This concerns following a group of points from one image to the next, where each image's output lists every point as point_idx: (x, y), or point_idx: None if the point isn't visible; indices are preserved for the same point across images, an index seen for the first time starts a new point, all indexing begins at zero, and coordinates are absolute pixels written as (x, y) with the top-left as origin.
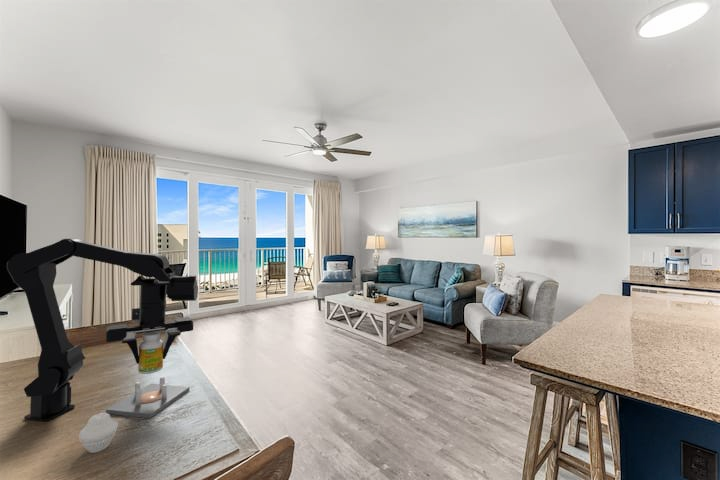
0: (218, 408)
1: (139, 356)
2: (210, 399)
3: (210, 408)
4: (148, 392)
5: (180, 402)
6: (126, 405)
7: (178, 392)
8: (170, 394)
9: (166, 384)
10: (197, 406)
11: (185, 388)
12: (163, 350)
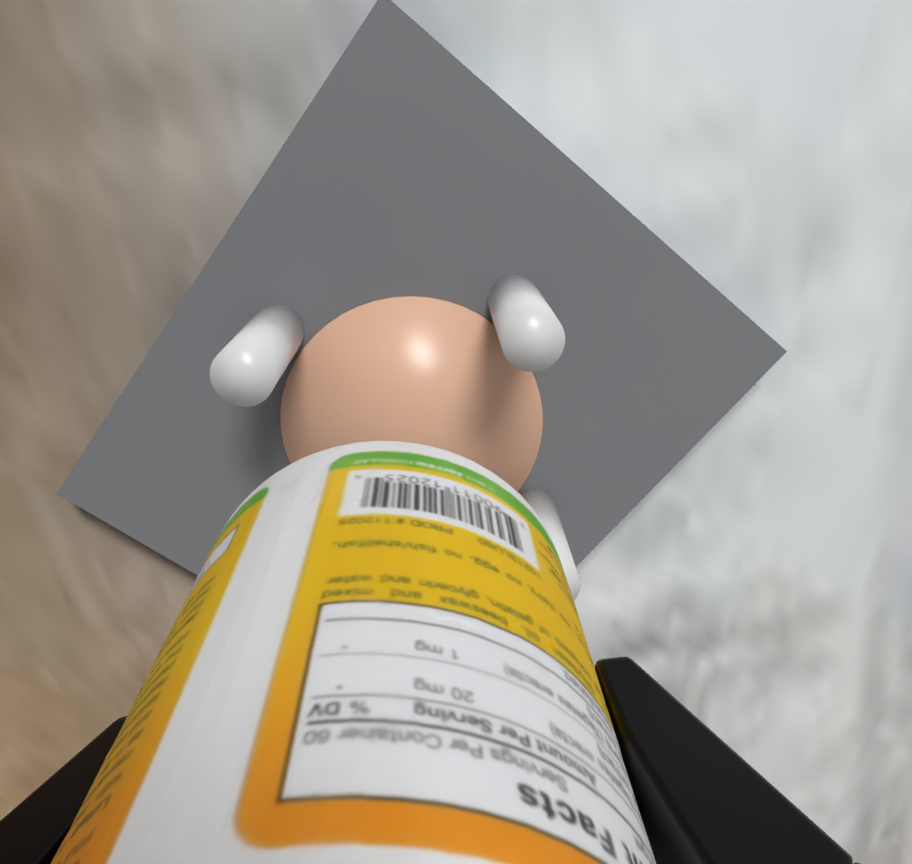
0: (877, 747)
1: None
2: (877, 601)
3: (830, 726)
4: (379, 309)
5: (653, 547)
6: (219, 493)
7: (664, 433)
8: (590, 444)
9: (573, 576)
10: (758, 664)
11: (742, 370)
12: (651, 832)
